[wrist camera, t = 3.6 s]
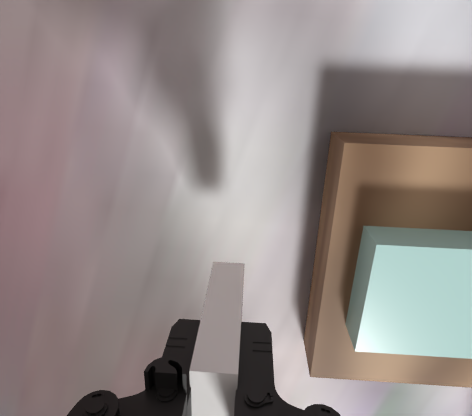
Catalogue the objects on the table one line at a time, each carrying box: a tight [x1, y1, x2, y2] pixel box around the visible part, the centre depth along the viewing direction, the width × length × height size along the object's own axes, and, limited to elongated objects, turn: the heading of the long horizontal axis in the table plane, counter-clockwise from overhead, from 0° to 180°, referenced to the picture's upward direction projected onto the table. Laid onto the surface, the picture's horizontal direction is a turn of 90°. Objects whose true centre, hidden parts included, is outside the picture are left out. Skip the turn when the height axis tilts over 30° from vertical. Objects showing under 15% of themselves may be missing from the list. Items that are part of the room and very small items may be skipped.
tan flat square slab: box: [304, 132, 472, 388], centre depth 19 cm, size 14×14×3 cm
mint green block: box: [345, 226, 472, 359], centre depth 17 cm, size 9×6×2 cm, turn 88°
